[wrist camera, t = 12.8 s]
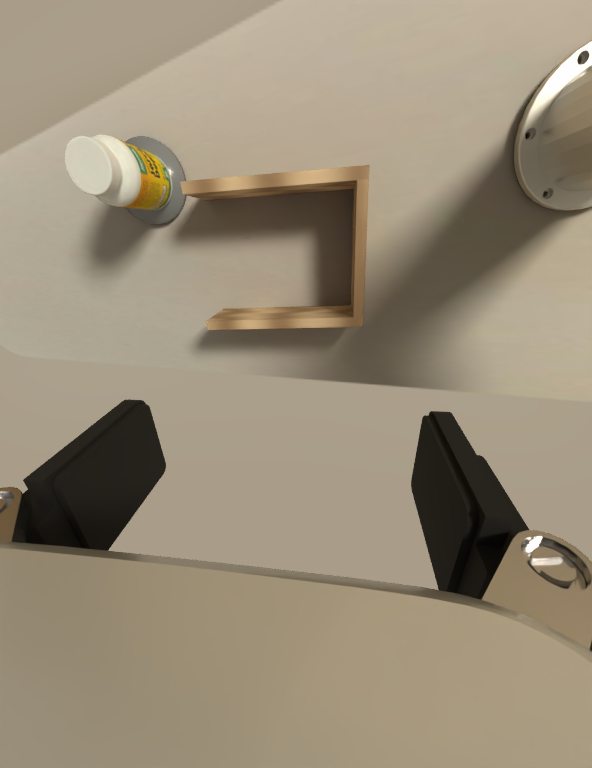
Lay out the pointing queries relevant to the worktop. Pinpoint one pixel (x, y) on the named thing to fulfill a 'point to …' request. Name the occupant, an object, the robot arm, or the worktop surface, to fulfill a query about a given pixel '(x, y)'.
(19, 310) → the worktop surface
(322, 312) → the wooden u-frame
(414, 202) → the worktop surface
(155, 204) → the supplement bottle
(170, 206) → the slate coaster
